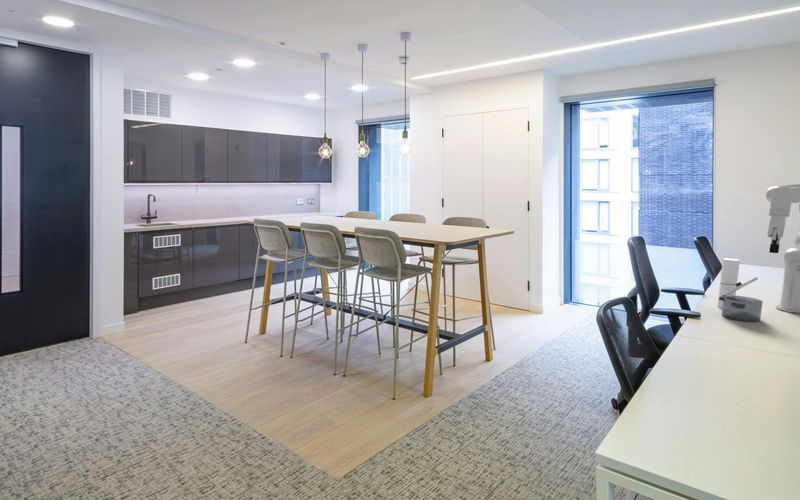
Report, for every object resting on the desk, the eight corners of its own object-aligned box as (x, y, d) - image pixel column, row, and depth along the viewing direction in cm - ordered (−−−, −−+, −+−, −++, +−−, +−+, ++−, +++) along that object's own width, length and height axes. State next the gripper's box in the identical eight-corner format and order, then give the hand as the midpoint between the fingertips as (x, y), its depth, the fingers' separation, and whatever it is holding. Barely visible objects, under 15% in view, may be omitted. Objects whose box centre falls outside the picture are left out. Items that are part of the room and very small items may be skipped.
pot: (724, 310, 245) (726, 292, 244) (764, 317, 233) (766, 298, 232) (713, 317, 231) (715, 298, 230) (755, 325, 220) (757, 305, 219)
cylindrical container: (719, 308, 249) (725, 259, 246) (715, 305, 256) (720, 258, 253) (736, 309, 247) (741, 260, 244) (731, 306, 254) (736, 258, 251)
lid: (728, 293, 241) (725, 289, 242) (761, 277, 231) (757, 272, 232) (720, 298, 230) (716, 293, 231) (754, 281, 221) (750, 276, 221)
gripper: (771, 212, 234) (766, 251, 236) (766, 212, 224) (760, 252, 226) (791, 214, 229) (786, 253, 231) (787, 213, 218) (781, 254, 220)
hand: (773, 252), depth 228 cm, fingers closed
